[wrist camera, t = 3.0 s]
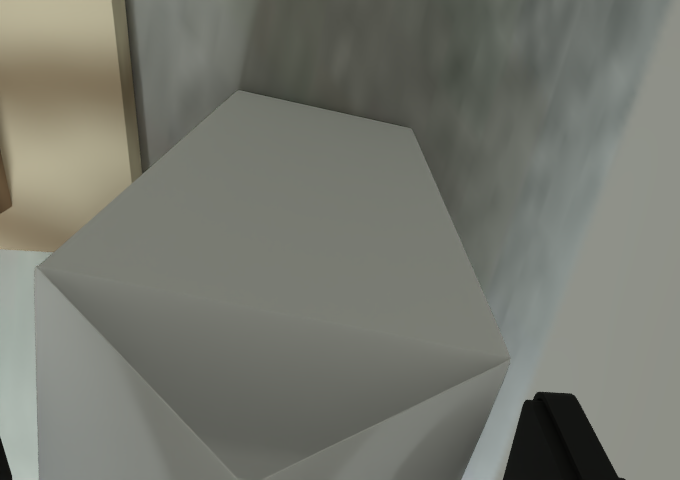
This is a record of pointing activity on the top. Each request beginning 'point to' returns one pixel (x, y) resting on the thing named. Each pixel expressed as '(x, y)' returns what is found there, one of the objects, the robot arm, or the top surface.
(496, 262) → the top surface
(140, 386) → the milk carton
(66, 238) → the jig
